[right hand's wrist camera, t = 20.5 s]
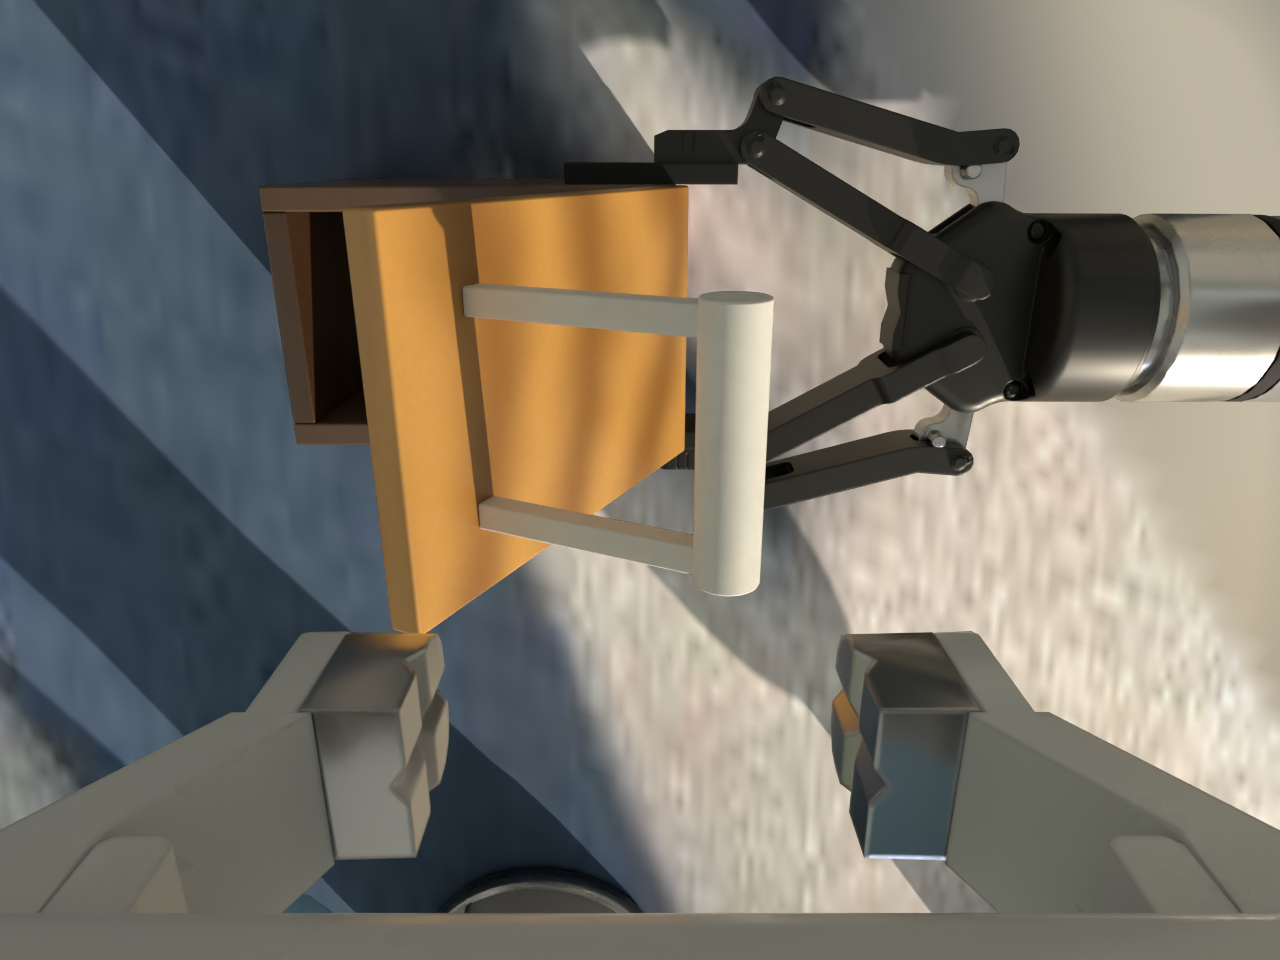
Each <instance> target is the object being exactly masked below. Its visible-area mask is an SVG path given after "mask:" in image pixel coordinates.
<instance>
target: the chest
mask: <svg viewBox="0 0 1280 960" xmlns="http://www.w3.org/2000/svg"><path fill="white" fill-rule="evenodd" d="M663 185H675V184H674V183H655V184H565V179H368V180H335V181H322V182H309V183H296V184H282V185H269V186H260V187H259V195H260V202H261V208H262V211H263V212H264V213H263V221H264V228H265V235H266V241H267V248H268V255H269V261H270V268H271V275H272V281H273V288H274V295H275V301H276V308H277V315H278V321H279V328H280V335H281V341H282V348H283V355H284V361H285V368H286V375H287V382H288V388H289V395H290V402H291V408H292V415H293V421H294V423H295V424H294V429H295V435H296V442H297V444H370V440H369V431H368V423H367V415H366V406H365V398H364V389H363V381H362V372H361V364H360V356H359V347H358V339H357V330H356V322H355V313H354V305H353V297H352V288H351V280H350V271H349V263H348V254H347V246H346V238H345V229H344V221H343V209H344V208H346V207H358V206H373V205H388V204H402V203H417V202H431V201H446V200H460V199H475V198H489V197H504V196H518V195H533V194H547V193H562V192H576V191H591V190H605V189H620V188H634V187H649V186H663Z"/></svg>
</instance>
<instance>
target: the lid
mask: <svg viewBox="0 0 1280 960" xmlns="http://www.w3.org/2000/svg"><path fill="white" fill-rule="evenodd" d="M343 221H344V229H345V238H346V246H347V254H348V263H349V271H350V280H351V288H352V297H353V305H354V313H355V322H356V330H357V339H358V347H359V356H360V364H361V372H362V381H363V389H364V398H365V406H366V415H367V423H368V431H369V440H370V448H371V457H372V465H373V474H374V482H375V490H376V499H377V507H378V516H379V524H380V533H381V541H382V549H383V558H384V566H385V575H386V583H387V592H388V600H389V608H390V617H391V625H392V628H393V629H394V630H397V631H400V632H404V633H423V634H425V633H426V632H428V631H429V630H431V629H432V628H434V627H435V626H436V625H438V624H439V623H441V622H442V621H443V620H445V619H446V618H448V617H449V616H451V615H452V614H453V613H455V612H456V611H458V610H459V609H460V608H462V607H463V606H465V605H466V604H467V603H469V602H470V601H472V600H473V599H475V598H476V597H477V596H479V595H480V594H482V593H483V592H484V591H486V590H487V589H489V588H490V587H492V586H493V585H494V584H496V583H497V582H499V581H500V580H501V579H503V578H504V577H506V576H507V575H509V574H510V573H511V572H513V571H514V570H516V569H517V568H518V567H520V566H521V565H523V564H524V563H526V562H527V561H528V560H530V559H531V558H533V557H534V556H535V555H537V554H538V553H540V552H541V551H543V550H544V549H545V548H547V547H548V546H550V545H551V544H554V545H558V546H563V547H567V548H572V549H577V550H581V551H586V552H590V553H595V554H600V555H604V556H609V557H613V558H618V559H623V560H627V561H632V562H636V563H641V564H646V565H650V566H655V567H659V568H664V569H669V570H673V571H678V572H682V573H687V574H692V579H693V582H694V584H695V586H696V587H697V588H699V589H700V590H702V591H704V592H706V593H709V594H713V595H718V596H739V595H744V594H747V593H750V592H752V591H754V590H755V589H756V588H757V587H758V585H759V583H760V567H761V547H762V528H763V508H764V488H765V468H766V448H767V428H768V409H769V389H770V369H771V349H772V329H773V310H774V298H773V297H772V296H770V295H768V294H764V293H757V292H746V291H721V292H711V293H705V294H702V295H700V296H699V298H698V299H696V298H687V253H688V186H686V185H663V186H649V187H634V188H620V189H605V190H591V191H576V192H562V193H547V194H533V195H518V196H504V197H489V198H475V199H460V200H446V201H431V202H417V203H402V204H388V205H373V206H358V207H346V208H344V209H343ZM686 337H693V338H697V375H696V425H695V475H694V525H693V535H692V534H687V533H682V532H677V531H671V530H666V529H661V528H656V527H651V526H646V525H641V524H636V523H631V522H626V521H620V520H615V519H610V518H605V517H600V516H595V515H593V514H595V513H596V512H598V511H599V510H601V509H602V508H603V507H605V506H606V505H608V504H609V503H610V502H612V501H613V500H615V499H616V498H618V497H619V496H620V495H622V494H623V493H625V492H626V491H627V490H629V489H630V488H632V487H633V486H635V485H636V484H637V483H639V482H640V481H642V480H643V479H644V478H646V477H647V476H649V475H650V474H652V473H653V472H654V471H656V470H657V469H659V468H660V467H661V466H663V465H664V464H666V463H667V462H668V461H670V460H671V459H673V458H674V457H676V456H677V455H678V454H680V453H681V452H683V451H684V447H685V383H686Z"/></svg>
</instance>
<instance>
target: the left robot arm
mask: <svg viewBox="0 0 1280 960" xmlns="http://www.w3.org/2000/svg"><path fill="white" fill-rule="evenodd" d="M782 121H785V122H789V123H792V124H795V125H798V126H802V127H805V128H808V129H811V130H815V131H818V132H821V133H824V134H828V135H831V136H834V137H838V138H841V139H844V140H847V141H851V142H854V143H857V144H860V145H864V146H867V147H870V148H873V149H877V150H880V151H883V152H886V153H890V154H893V155H896V156H899V157H903V158H906V159H909V160H912V161H916V162H920V163H924V164H931V165H945V169H944V173H945V178H946V180H947V181H948V182H949V183H950V184H951V185H953V186H958V187H962V188H963V189H965V190H966V191H967V192H968V194H969V196H970V204H968V205H966V206H965V207H963V208H962V209H961V210H959V211H958V212H956V213H955V214H953V215H952V216H950V217H949V218H947V219H946V220H945V221H943V222H942V223H940V224H939V225H937V226H936V227H934V228H933V229H931V230H930V231H929V232H927V231H925V230H923V229H922V228H920V227H919V226H917V225H915V224H914V223H912V222H910V221H908V220H906V219H904V218H902V217H900V216H899V215H897V214H896V213H894V212H892V211H891V210H889V209H888V208H886V207H884V206H883V205H881V204H880V203H878V202H876V201H875V200H873V199H871V198H870V197H868V196H867V195H865V194H863V193H862V192H860V191H859V190H857V189H855V188H854V187H852V186H851V185H849V184H847V183H846V182H844V181H843V180H841V179H839V178H838V177H836V176H835V175H833V174H831V173H830V172H828V171H826V170H825V169H823V168H822V167H820V166H818V165H817V164H815V163H814V162H812V161H810V160H809V159H807V158H806V157H804V156H802V155H801V154H799V153H798V152H796V151H794V150H793V149H791V148H790V147H788V146H786V145H785V144H783V143H782V142H780V141H778V140H777V139H776V136H777V133H778V131H779V128H780V126H781V123H782ZM1018 149H1019V138H1018V136H1017V134H1016V133H1015V132H1014V131H1012V130H1011V129H1005V128H1004V129H991V130H978V131H966V132H956V131H953V130H950V129H947V128H944V127H940V126H937V125H934V124H931V123H928V122H924V121H921V120H918V119H915V118H911V117H908V116H905V115H902V114H899V113H895V112H892V111H889V110H886V109H883V108H879V107H876V106H873V105H870V104H867V103H863V102H860V101H857V100H854V99H850V98H847V97H844V96H841V95H838V94H834V93H831V92H828V91H825V90H822V89H818V88H815V87H812V86H809V85H806V84H802V83H799V82H796V81H793V80H790V79H786V78H783V77H774V78H771V79H769V80H767V81H766V82H764V83H763V84H761V85H760V86H759V87H758V88H757V89H756V91H755V93H754V98H753V101H752V104H751V106H750V109H749V111H748V114H747V117H746V119H745V121H744V122H743V123H742V125H741V126H739V127H738V128H737V129H734V130H667V131H665V132H662V133H660V134H658V135H655V136H654V163H635V162H569V163H564V174H565V184H655V183H674V184H737V182H738V164H746V165H747V166H749V167H751V168H752V169H754V170H756V171H757V172H759V173H760V174H762V175H764V176H765V177H767V178H769V179H770V180H772V181H773V182H775V183H777V184H778V185H780V186H782V187H783V188H785V189H787V190H788V191H790V192H791V193H793V194H795V195H796V196H798V197H800V198H801V199H803V200H804V201H806V202H808V203H809V204H811V205H813V206H814V207H816V208H818V209H819V210H821V211H822V212H824V213H826V214H827V215H829V216H831V217H832V218H834V219H836V220H837V221H839V222H840V223H842V224H844V225H845V226H847V227H849V228H850V229H852V230H853V231H855V232H857V233H858V234H860V235H862V236H863V237H865V238H866V239H868V240H870V241H871V242H872V243H874V244H875V245H877V246H879V247H880V248H882V249H883V250H885V251H887V252H888V253H890V254H892V255H893V256H895V257H896V258H895V260H894V262H893V263H892V266H891V268H887V270H886V281H885V289H886V295H887V301H888V307H887V310H886V312H885V315H884V318H883V320H882V323H881V331H880V342H881V343H882V344H883V346H884V348H883V349H881V350H879V351H877V352H875V353H873V354H871V355H869V356H867V357H866V358H864V359H863V360H861V361H860V363H859V364H858V365H857V366H856V367H854V368H852V369H850V370H848V371H846V372H844V373H842V374H840V375H839V376H837V377H835V378H833V379H831V380H829V381H827V382H825V383H823V384H821V385H819V386H817V387H816V388H814V389H812V390H810V391H808V392H806V393H804V394H802V395H800V396H798V397H796V398H794V399H793V400H791V401H789V402H787V403H785V404H783V405H781V406H779V407H777V408H775V409H773V410H772V411H770V412H768V428H767V448H766V468H765V488H764V508H763V511H765V510H769V509H773V508H777V507H781V506H785V505H789V504H793V503H797V502H801V501H805V500H809V499H813V498H818V497H822V496H826V495H830V494H834V493H838V492H842V491H846V490H850V489H854V488H858V487H862V486H866V485H870V484H874V483H878V482H882V481H886V480H890V479H894V478H898V477H902V476H906V475H910V474H914V473H928V474H941V475H954V476H958V475H963V474H965V473H967V472H968V471H969V470H970V469H971V467H972V465H973V456H972V454H971V453H970V452H969V451H968V450H967V449H966V445H967V440H968V436H969V431H970V427H971V422H972V418H973V413H974V412H976V411H979V410H981V409H983V408H985V407H987V406H989V405H991V404H994V403H998V402H1003V401H1037V402H1099V401H1105V400H1108V399H1110V398H1112V397H1114V398H1116V399H1117V400H1119V401H1124V402H1198V401H1239V402H1242V401H1263V402H1280V216H1266V215H1251V214H1143V215H1139V216H1137V217H1135V218H1133V219H1132V218H1131V217H1129V216H1127V215H1123V214H1050V213H1049V214H1046V213H1045V214H1044V213H1022V212H1019V211H1017V210H1015V209H1014V208H1012V207H1011V206H1009V205H1008V204H1006V203H1004V191H1005V176H1006V162H1007V161H1009V160H1011V159H1012V158H1013V157H1014V156H1015V155H1016V153H1017V152H1018ZM922 388H925V389H926V390H927V391H929V392H930V393H931V394H932V395H934V396H935V397H936V398H938V399H939V400H940V401H942V402H943V403H944V406H943V409H942V410H941V411H940V413H938V414H937V415H936V416H933V417H929V418H924V419H922V420H920V421H919V422H918V423H917V424H916V426H915V428H914V430H897V431H892V432H887V433H883V434H879V435H875V436H871V437H867V438H863V439H859V440H855V441H851V442H847V443H843V444H840V445H836V446H832V447H828V448H824V449H820V450H816V451H812V452H808V453H804V454H800V455H796V456H792V457H789V458H785V459H781V460H777V461H773V462H770V461H772V460H774V459H776V458H777V457H779V456H781V455H783V454H785V453H787V452H789V451H791V450H793V449H795V448H797V447H799V446H801V445H803V444H805V443H807V442H809V441H811V440H813V439H815V438H817V437H819V436H821V435H823V434H824V433H826V432H828V431H830V430H832V429H834V428H836V427H838V426H840V425H842V424H844V423H846V422H848V421H850V420H852V419H854V418H856V417H858V416H860V415H862V414H864V413H866V412H868V411H870V410H871V409H873V408H875V407H877V406H879V405H882V404H889V403H894V402H896V401H899V400H901V399H903V398H905V397H907V396H909V395H910V394H912V393H914V392H916V391H918V390H920V389H922ZM695 425H696V414H685V447H684V451H683V452H681V453H680V454H678V455H677V456H676V457H674V458H673V459H671V460H670V461H668V462H667V463H666V464H664V465H663V466H661V467H660V468H662V469H695ZM768 462H769V463H768ZM282 913H333V912H331V911H330V910H329V909H327V908H326V907H325V906H324V905H322V904H321V903H320V902H318V901H317V900H316V899H314V898H313V897H312V896H309V895H306V894H302V895H301V896H300V897H299V898H298V899H296V900H295V901H294V902H293V903H292V904H291V905H290V906H289V907H288V908H287V909H286V910H285V911H283V912H282ZM438 913H643V912H642V911H641V909H640V908H639V907H638V906H637V905H636V904H635V903H634V902H633V901H631V900H630V899H629V898H628V897H627V896H625V895H624V894H622V893H621V892H620V891H618V890H617V889H615V888H613V887H611V886H610V885H608V884H606V883H604V882H602V881H600V880H597V879H595V878H592V877H589V876H587V875H583V874H580V873H576V872H572V871H567V870H562V869H553V868H522V869H514V870H509V871H503V872H500V873H496V874H493V875H490V876H487V877H484V878H482V879H480V880H478V881H476V882H473V883H471V884H470V885H468V886H466V887H465V888H463V889H462V890H460V891H459V892H458V893H456V894H455V895H454V896H453V897H452V898H451V899H449V900H448V901H447V902H446V904H445V905H444V906H443V907H442V908H441V910H440V911H439V912H438Z"/></svg>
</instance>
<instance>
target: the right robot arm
mask: <svg viewBox="0 0 1280 960" xmlns="http://www.w3.org/2000/svg"><path fill="white" fill-rule="evenodd" d="M443 670H444V660H443V652H442V644H441V641H440V639H439V637H438V635H437V634H423V633H371V632H352V633H349V632H348V631H340V632H308V633H304V634H301V635H300V636H299V638H298V639H297V640H296V642H295V643H294V645H293V646H292V647H291V649H290V650H289V651H288V653H287V654H286V656H285V657H284V658H283V660H282V661H281V663H280V664H279V665H278V667H277V668H276V670H275V671H274V672H273V674H272V675H271V677H270V678H269V679H268V681H267V682H266V683H265V685H264V686H263V688H262V689H261V690H260V692H259V693H258V695H257V696H256V697H255V699H254V700H253V702H252V703H251V704H250V706H249V707H248V708H247V710H246V711H245V712H230V713H229V714H227V715H225V716H223V717H221V718H219V719H217V720H215V721H213V722H211V723H209V724H207V725H205V726H203V727H201V728H199V729H197V730H195V731H193V732H191V733H189V734H187V735H185V736H183V737H182V738H180V739H178V740H176V741H174V742H172V743H170V744H168V745H166V746H164V747H162V748H160V749H158V750H156V751H154V752H152V753H150V754H148V755H146V756H144V757H142V758H140V759H138V760H136V761H134V762H133V763H131V764H129V765H127V766H125V767H123V768H121V769H119V770H117V771H115V772H113V773H111V774H109V775H107V776H105V777H103V778H101V779H99V780H97V781H95V782H93V783H91V784H89V785H87V786H86V787H84V788H82V789H80V790H78V791H76V792H74V793H72V794H70V795H68V796H66V797H64V798H62V799H60V800H58V801H56V802H54V803H52V804H50V805H48V806H46V807H44V808H42V809H40V810H39V811H37V812H35V813H33V814H31V815H29V816H27V817H25V818H23V819H21V820H19V821H17V822H15V823H13V824H11V825H9V826H7V827H5V828H3V829H1V830H0V960H1280V830H1278V829H1276V828H1274V827H1272V826H1270V825H1268V824H1266V823H1264V822H1262V821H1260V820H1258V819H1256V818H1255V817H1253V816H1251V815H1249V814H1247V813H1245V812H1243V811H1241V810H1239V809H1237V808H1235V807H1233V806H1231V805H1229V804H1227V803H1225V802H1223V801H1221V800H1219V799H1217V798H1215V797H1214V796H1212V795H1210V794H1208V793H1206V792H1204V791H1202V790H1200V789H1198V788H1196V787H1194V786H1192V785H1190V784H1188V783H1186V782H1184V781H1182V780H1180V779H1178V778H1176V777H1174V776H1173V775H1171V774H1169V773H1167V772H1165V771H1163V770H1161V769H1159V768H1157V767H1155V766H1153V765H1151V764H1149V763H1147V762H1145V761H1143V760H1141V759H1139V758H1137V757H1135V756H1133V755H1132V754H1130V753H1128V752H1126V751H1124V750H1122V749H1120V748H1118V747H1116V746H1114V745H1112V744H1110V743H1108V742H1106V741H1104V740H1102V739H1100V738H1098V737H1096V736H1094V735H1092V734H1091V733H1089V732H1087V731H1085V730H1083V729H1081V728H1079V727H1077V726H1075V725H1073V724H1071V723H1069V722H1067V721H1065V720H1063V719H1061V718H1059V717H1057V716H1055V715H1053V714H1051V713H1050V712H1035V711H1034V710H1033V709H1032V707H1031V706H1030V704H1029V703H1028V702H1027V700H1026V699H1025V698H1024V696H1023V695H1022V693H1021V692H1020V691H1019V689H1018V688H1017V687H1016V685H1015V684H1014V682H1013V681H1012V680H1011V678H1010V677H1009V676H1008V674H1007V673H1006V671H1005V670H1004V669H1003V667H1002V666H1001V664H1000V663H999V662H998V660H997V659H996V658H995V656H994V655H993V653H992V652H991V651H990V649H989V648H988V647H987V645H986V644H985V642H984V641H983V640H982V638H981V637H980V636H979V635H978V634H976V633H974V632H972V631H961V632H937V633H932V632H928V633H887V634H847V635H842V636H841V637H840V641H839V645H838V649H837V659H836V670H837V673H838V676H839V678H840V681H841V684H842V686H843V690H842V691H841V692H840V693H839V694H838V695H837V696H836V698H835V699H834V700H833V701H832V717H831V739H832V753H833V758H834V763H835V768H836V772H837V775H838V778H839V782H840V784H841V785H843V786H844V787H845V788H847V789H848V790H849V791H851V798H850V809H849V813H850V816H851V819H852V822H853V825H854V828H855V831H856V834H857V837H858V840H859V843H860V846H861V849H862V852H863V855H864V858H892V859H928V860H946V861H945V864H946V865H947V866H948V867H949V868H950V869H951V870H953V871H954V872H955V873H956V874H957V875H958V876H959V877H960V878H961V879H962V880H963V881H964V882H966V883H967V884H968V885H969V886H970V887H971V888H972V889H973V890H974V891H975V892H976V893H977V894H979V895H980V896H981V897H982V898H983V899H984V900H985V901H986V902H987V903H988V904H989V905H990V906H992V907H993V908H994V909H995V910H996V911H997V912H998V913H282V912H283V911H285V910H286V909H287V908H288V907H289V906H290V905H291V904H292V903H293V902H294V901H295V900H296V899H298V898H299V897H300V896H301V895H302V894H303V893H304V892H305V891H306V890H307V889H308V888H309V887H311V886H312V885H313V884H314V883H315V882H316V881H317V880H318V879H319V878H320V877H321V876H322V875H324V874H325V873H326V872H327V871H328V870H329V869H330V868H331V867H332V866H333V865H334V860H351V859H386V858H416V856H417V853H418V850H419V847H420V844H421V841H422V837H423V834H424V831H425V828H426V825H427V822H428V819H429V816H430V813H431V809H430V798H429V791H431V790H432V789H433V788H435V787H436V786H437V785H439V784H440V782H441V778H442V775H443V771H444V768H445V764H446V757H447V750H448V742H449V714H448V701H447V700H446V699H445V698H444V696H443V695H442V694H441V693H440V692H439V691H438V690H437V686H438V684H439V681H440V678H441V675H442V673H443Z"/></svg>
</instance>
